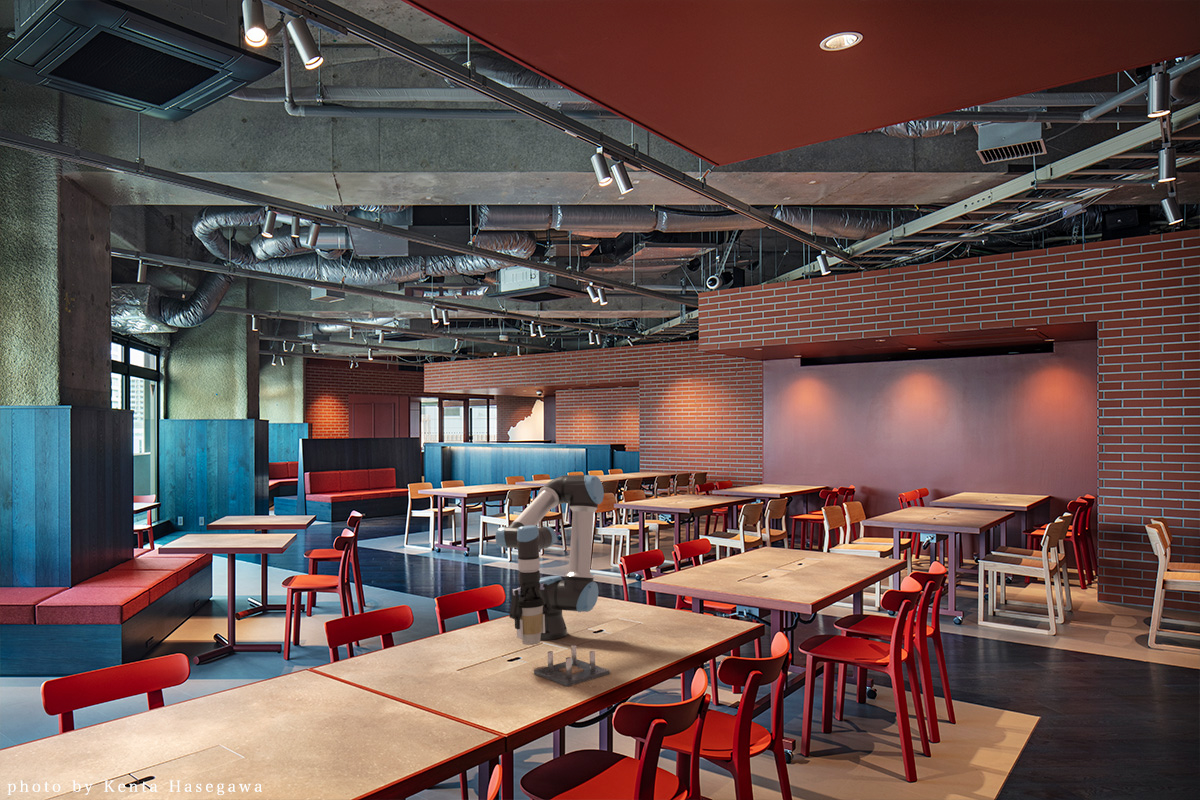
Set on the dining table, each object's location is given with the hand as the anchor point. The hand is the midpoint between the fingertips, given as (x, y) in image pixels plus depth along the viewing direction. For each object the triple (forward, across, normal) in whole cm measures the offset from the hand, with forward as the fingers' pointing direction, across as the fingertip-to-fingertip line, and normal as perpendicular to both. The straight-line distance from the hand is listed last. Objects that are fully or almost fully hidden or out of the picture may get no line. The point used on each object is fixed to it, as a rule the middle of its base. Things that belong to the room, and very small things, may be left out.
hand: (531, 635), depth 255 cm
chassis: (+10, -3, +18) cm, 21 cm away
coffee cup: (+3, 0, 0) cm, 3 cm away
